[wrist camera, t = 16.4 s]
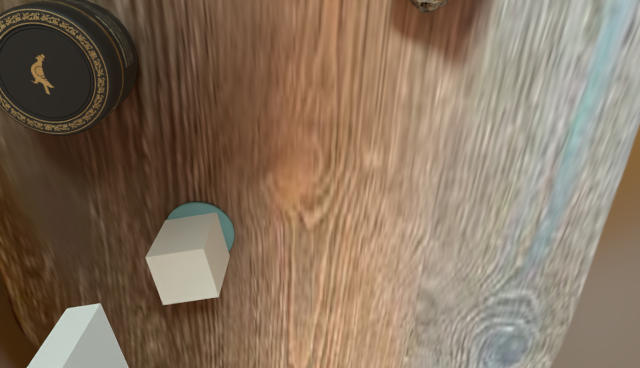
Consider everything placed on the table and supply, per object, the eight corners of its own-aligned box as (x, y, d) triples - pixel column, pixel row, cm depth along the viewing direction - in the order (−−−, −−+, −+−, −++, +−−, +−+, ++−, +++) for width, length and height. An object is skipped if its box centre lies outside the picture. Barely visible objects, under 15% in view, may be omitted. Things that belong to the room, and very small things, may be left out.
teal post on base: (156, 207, 52) (134, 245, 45) (225, 196, 51) (212, 232, 45) (176, 265, 54) (158, 308, 48) (241, 255, 54) (231, 297, 48)
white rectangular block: (165, 220, 51) (145, 257, 45) (216, 212, 51) (203, 248, 45) (180, 264, 53) (163, 305, 47) (229, 256, 53) (218, 296, 47)
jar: (73, 126, 48) (32, 158, 41) (2, 25, 44) (-57, 41, 37) (166, 81, 46) (139, 107, 39) (100, -28, 42) (58, -22, 35)
